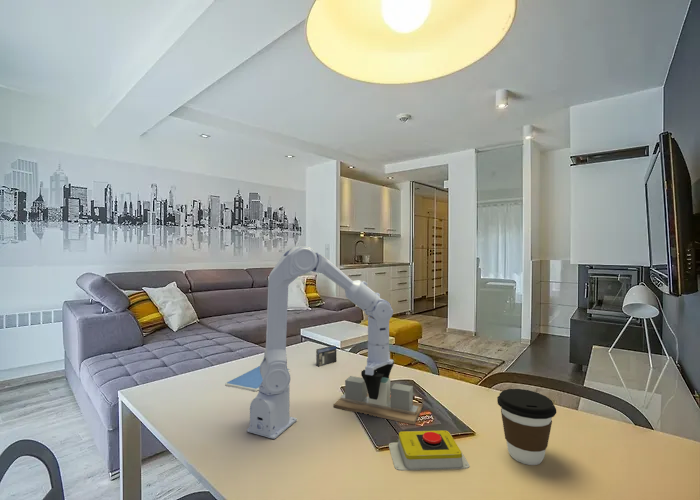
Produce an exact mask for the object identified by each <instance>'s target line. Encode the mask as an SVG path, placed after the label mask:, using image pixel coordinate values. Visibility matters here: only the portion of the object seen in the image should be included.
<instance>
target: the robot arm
mask: <svg viewBox="0 0 700 500" xmlns="http://www.w3.org/2000/svg"><path fill="white" fill-rule="evenodd" d="M310 272H314V273H316V274H317V273H318V274H322V275H323V276H325V277H326V278H328V279H329V280H330V281H332V282H334V284H336V285H337V286H339V287H340V288H341V289H343V290H344V293H345V298H346V299H347V300H349V301H350V302H351V303H353V304H354V305H355V306H357V308H359V309H360V310H362V311H363V312H364V314H365V315H366V316H367V359H366V366H365V367H364V368H365V369H363V370H361V374H360V376H361V378H363V379H364V381H365V383H366V386H367V394H368V395H369V398H370V399H375V400H377V399H378V395H379V387H380V382H381V379H382V377H386V378H389V379H390V374H391V371H392V369H393V366H394V365H395V361H394V359H392V358H391V352H390V319H392V317H393V315H394V309H393V308H392V306H391V303H390V302H389V301H388V300H386V299H383V298H381V294H380V293H379V292H375V291H374V290H372V289H371V288H370V287H369V286H368V285H369V283H368V282H367V281H365V280H359V279H356V280H352V279H351V278H350V277H349V276H348V275H347V274H346V273H345V272H343V271H342V270H341V269H340V268H339V267H338V266H336V265H335V264H334V263H332V261H331V260H329V259H328V258H327V257H325V256H324V255H322V254H321V253H319V252H315V250H314V249H313V248H312V247H309V246H307V245H306V246H305V245H304V246H303V245H302V246H298V245H297V246H293V247H291V248H289V249H288V250H286V251H285V252H283V253H282V254H281V257H280V258H279V260H278V261H277V262H276V264H275V265H274V267H273V269H272V270H271V272H270V273H269V275H268V282H267V310H266V311H267V312H266V334H265V336H266V337H265V348H264V353H263V359H262V361H261V363H260V365H259V366H260V374H261V376H262V379H263V381H262V383H261V385H260V386H259V390H258V391H257V395H256V396H255V398H253V399H252V400H251V402H250V404H249V427H248V428H247V429H246V431H247V432H248V433H251V434H255V435H258V436H262V437H266V438H269V439H273V440H274V439H277V437H279V436H280V435H281V434H282V433H283V432H285V431H286V430H287V429H288V428H290V427H291V426H292V425H293V424H294V423H296V422H297V421H298V418H297V417H294V416H290V412H291V411H290V403H291V402H290V400H291V399H290V391H291V390H290V383H291V374H290V372H289V371H288V369H289V368H288V359H287V350H286V349H287V329H288V327H287V326H288V305H289V303H288V301H289V285H290V284H291V283H293V281H296V279H298V277H300V276H303V275H305V274H308V273H310Z"/></svg>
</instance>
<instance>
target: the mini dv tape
mask: <svg viewBox="0 0 700 500" xmlns="http://www.w3.org/2000/svg"><path fill="white" fill-rule="evenodd" d="M315 356H316V357H315V359H316V364H315V365H316V366H317V367H319V368H320V367H324V366H327V365H329V364H330V365H331V364H334V363H337V346H336V345H335V344H334V345H329V346H325V347H322V348H317V349H316V352H315Z"/></svg>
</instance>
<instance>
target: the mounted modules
mask: <svg viewBox="0 0 700 500" xmlns="http://www.w3.org/2000/svg"><path fill="white" fill-rule="evenodd" d="M344 382H345V383H344V385H345V386H344V387H345V388H344V394H345V398H346V399H351V400H356V401H361V402H362V401H363V400H364V399H365V398H366V397H367V394H368V390H367V386H366V383H365V381H364V379H363V377H360V376H353V375H349V377H348V378H346V379H345V381H344ZM413 396H414V386H413V385H407V384H402V383H401V384H400V383H393V385H392V386H390V398H391V408H396V409H401V410H406V411H410V409H411V408H412V406H413V402H414V397H413Z"/></svg>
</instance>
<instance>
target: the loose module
mask: <svg viewBox="0 0 700 500" xmlns="http://www.w3.org/2000/svg"><path fill="white" fill-rule="evenodd" d="M390 398H391V378H390V377H389V378H386V377H382V379H381V382H380V387H379V395H378V399H377V400H375V399H370V398H369V395H368V403H371V404H376V405H381V406H387V405H388V404H389V402H390Z"/></svg>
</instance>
